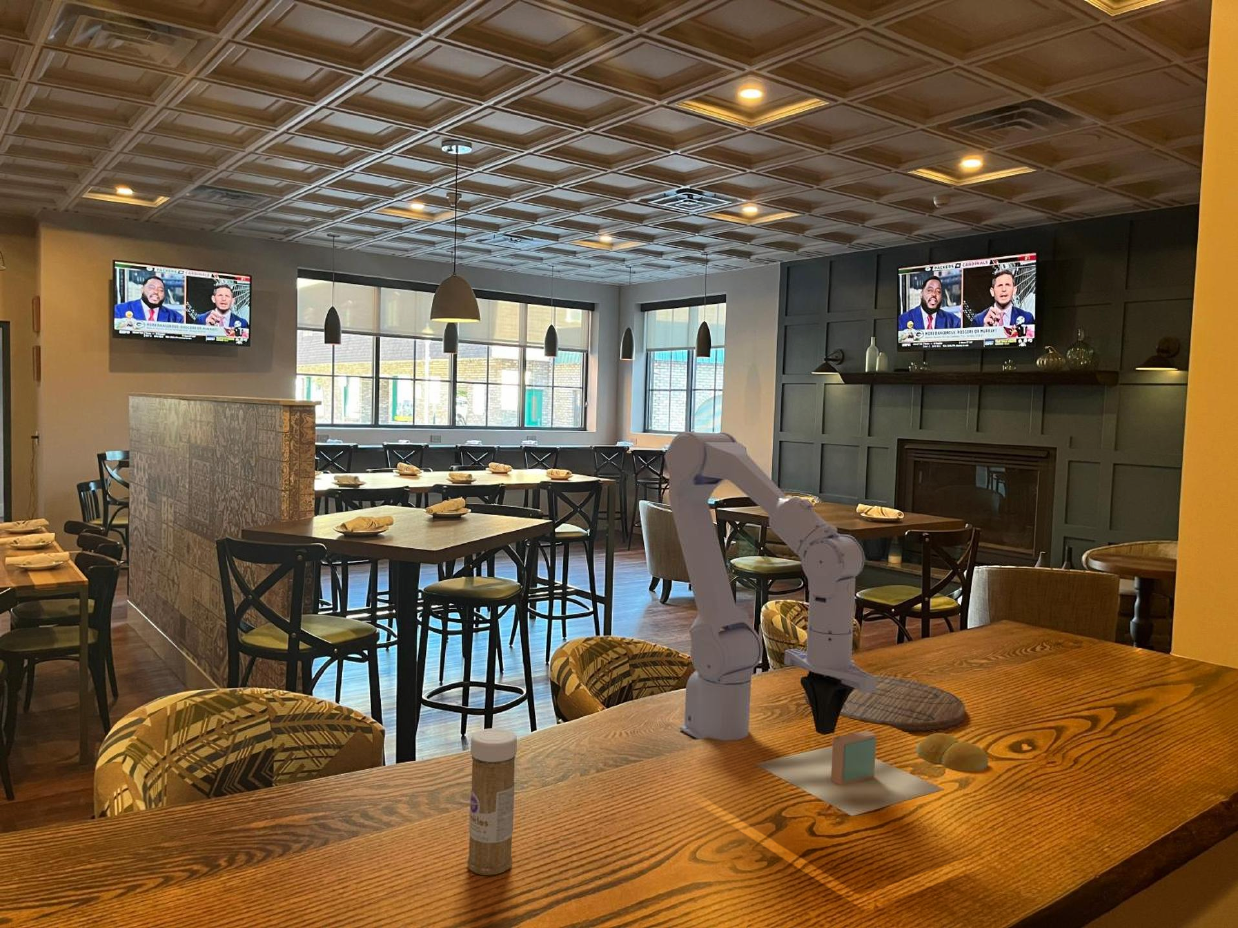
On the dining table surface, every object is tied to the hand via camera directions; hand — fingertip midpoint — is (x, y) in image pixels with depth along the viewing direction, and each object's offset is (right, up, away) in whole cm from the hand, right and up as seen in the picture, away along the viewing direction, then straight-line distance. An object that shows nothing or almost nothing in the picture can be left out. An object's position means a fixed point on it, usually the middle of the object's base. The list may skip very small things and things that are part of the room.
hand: (825, 732), depth 117 cm
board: (+2, -6, -3) cm, 7 cm away
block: (+3, -5, -4) cm, 7 cm away
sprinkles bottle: (-40, -6, -27) cm, 48 cm away
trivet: (+16, -5, +29) cm, 34 cm away
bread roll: (+18, -6, +5) cm, 20 cm away
